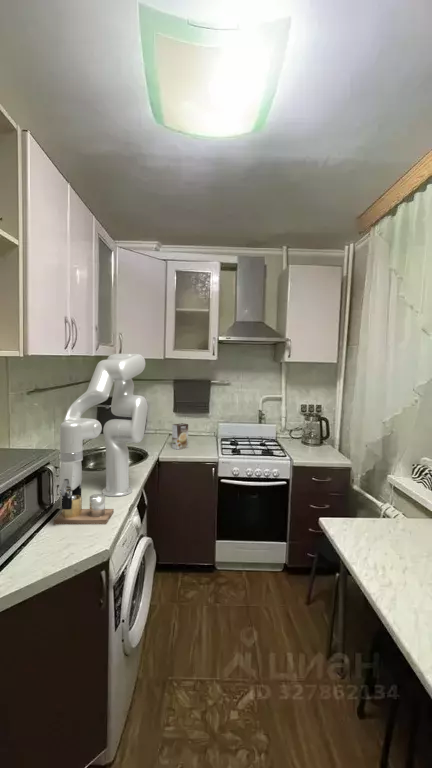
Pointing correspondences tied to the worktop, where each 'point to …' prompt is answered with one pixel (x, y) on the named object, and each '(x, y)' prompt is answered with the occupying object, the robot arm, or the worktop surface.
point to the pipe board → (85, 518)
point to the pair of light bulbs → (96, 505)
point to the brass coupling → (73, 508)
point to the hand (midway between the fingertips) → (71, 503)
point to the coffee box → (179, 436)
